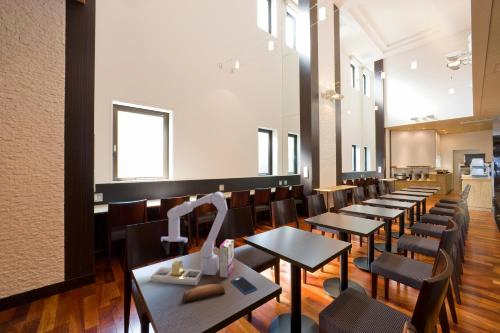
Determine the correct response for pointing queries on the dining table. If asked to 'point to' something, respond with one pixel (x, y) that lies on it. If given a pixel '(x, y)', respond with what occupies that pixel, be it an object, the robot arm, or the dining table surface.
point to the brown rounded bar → (203, 292)
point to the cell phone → (244, 285)
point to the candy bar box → (226, 258)
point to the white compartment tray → (176, 279)
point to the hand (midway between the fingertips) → (174, 254)
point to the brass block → (177, 268)
